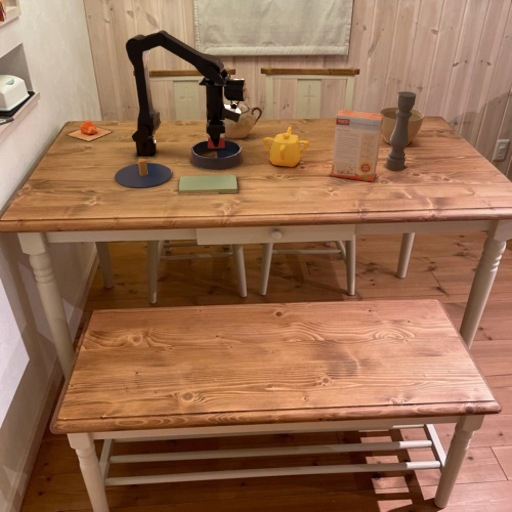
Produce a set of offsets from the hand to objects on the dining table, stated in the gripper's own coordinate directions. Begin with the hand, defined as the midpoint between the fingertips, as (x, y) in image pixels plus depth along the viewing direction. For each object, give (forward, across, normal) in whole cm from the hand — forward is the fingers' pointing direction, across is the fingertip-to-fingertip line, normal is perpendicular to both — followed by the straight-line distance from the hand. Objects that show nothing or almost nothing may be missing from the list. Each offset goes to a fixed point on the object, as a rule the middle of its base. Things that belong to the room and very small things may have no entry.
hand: (216, 144), depth 178 cm
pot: (+6, 0, 0) cm, 6 cm away
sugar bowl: (+6, +24, -8) cm, 26 cm away
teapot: (+6, -2, -24) cm, 25 cm away
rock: (+6, +29, +49) cm, 57 cm away
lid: (+5, -12, +24) cm, 27 cm away
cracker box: (+6, -15, -45) cm, 48 cm away
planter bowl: (+6, +14, -69) cm, 71 cm away
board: (+6, -20, +3) cm, 21 cm away
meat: (0, 0, 0) cm, 0 cm away
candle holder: (+6, -9, -61) cm, 62 cm away
